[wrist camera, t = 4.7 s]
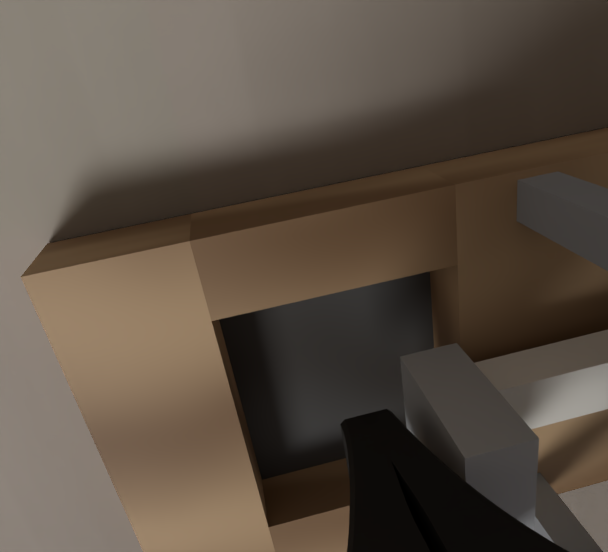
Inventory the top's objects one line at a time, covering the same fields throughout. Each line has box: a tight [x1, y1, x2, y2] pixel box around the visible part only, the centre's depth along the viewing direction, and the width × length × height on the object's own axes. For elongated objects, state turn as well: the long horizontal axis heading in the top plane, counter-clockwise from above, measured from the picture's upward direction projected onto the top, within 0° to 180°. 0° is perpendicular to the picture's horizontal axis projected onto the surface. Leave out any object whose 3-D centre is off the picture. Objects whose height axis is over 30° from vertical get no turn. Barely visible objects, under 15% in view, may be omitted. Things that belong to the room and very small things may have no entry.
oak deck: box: [21, 128, 608, 552], centre depth 15 cm, size 11×28×2 cm, turn 99°
